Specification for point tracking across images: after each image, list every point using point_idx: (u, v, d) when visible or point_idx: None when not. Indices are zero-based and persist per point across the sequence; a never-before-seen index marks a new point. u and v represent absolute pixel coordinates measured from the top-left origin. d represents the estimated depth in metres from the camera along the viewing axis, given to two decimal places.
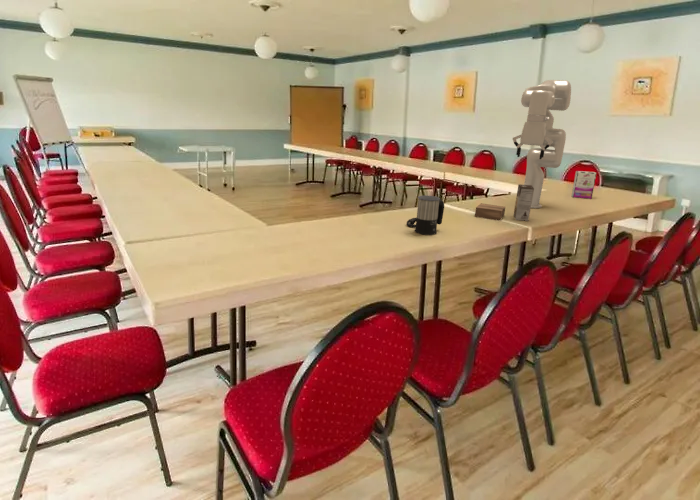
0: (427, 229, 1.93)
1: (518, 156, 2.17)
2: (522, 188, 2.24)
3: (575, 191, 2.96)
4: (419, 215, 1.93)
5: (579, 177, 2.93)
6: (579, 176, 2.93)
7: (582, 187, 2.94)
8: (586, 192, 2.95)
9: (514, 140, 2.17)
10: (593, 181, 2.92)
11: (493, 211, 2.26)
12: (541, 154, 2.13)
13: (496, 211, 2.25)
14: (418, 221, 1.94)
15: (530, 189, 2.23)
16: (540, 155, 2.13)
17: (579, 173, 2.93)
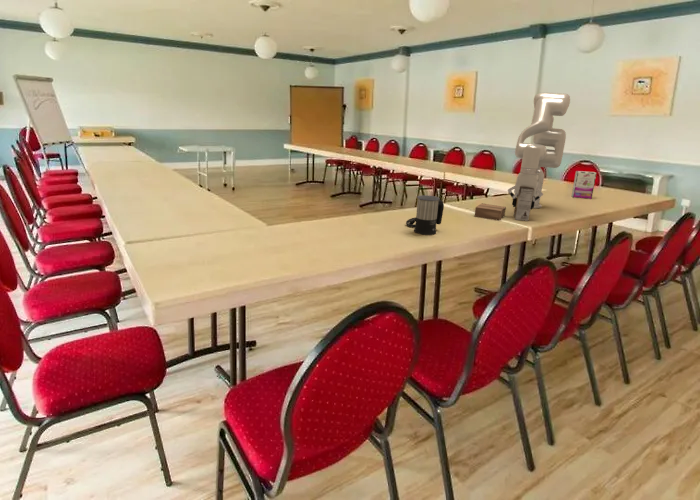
0: (426, 229, 1.93)
1: (514, 206, 2.31)
2: (522, 188, 2.24)
3: (575, 191, 2.96)
4: (418, 215, 1.93)
5: (579, 177, 2.93)
6: (579, 176, 2.93)
7: (582, 187, 2.94)
8: (586, 192, 2.95)
9: (509, 191, 2.31)
10: (593, 181, 2.92)
11: (492, 211, 2.26)
12: (531, 205, 2.27)
13: (495, 211, 2.25)
14: (417, 221, 1.94)
15: (530, 189, 2.23)
16: (531, 206, 2.27)
17: (579, 173, 2.92)
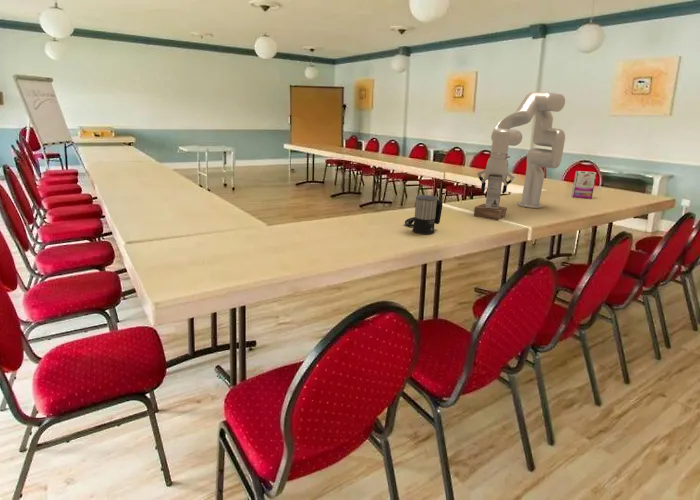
0: (424, 229, 1.93)
1: (483, 190, 2.30)
2: (490, 176, 2.24)
3: (575, 191, 2.96)
4: (417, 214, 1.94)
5: (579, 177, 2.93)
6: (579, 176, 2.93)
7: (582, 187, 2.94)
8: (586, 192, 2.95)
9: (479, 175, 2.30)
10: (593, 181, 2.92)
11: (491, 211, 2.26)
12: (504, 189, 2.25)
13: (494, 211, 2.25)
14: (416, 220, 1.95)
15: (498, 177, 2.23)
16: (503, 190, 2.26)
17: (579, 173, 2.92)
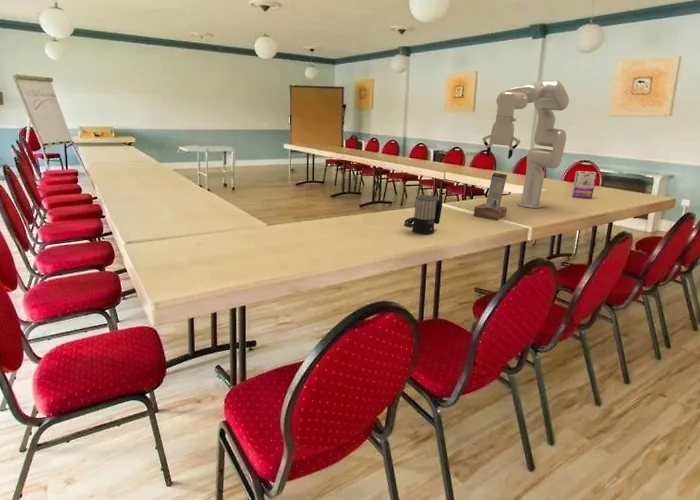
0: (424, 229, 1.93)
1: (488, 156, 2.25)
2: (494, 176, 2.23)
3: (575, 191, 2.96)
4: (416, 214, 1.94)
5: (579, 177, 2.93)
6: (579, 176, 2.93)
7: (582, 187, 2.94)
8: (586, 192, 2.95)
9: (484, 140, 2.25)
10: (593, 181, 2.92)
11: (491, 211, 2.26)
12: (509, 154, 2.20)
13: (494, 211, 2.25)
14: (415, 220, 1.95)
15: (501, 178, 2.22)
16: (508, 155, 2.21)
17: (579, 173, 2.92)
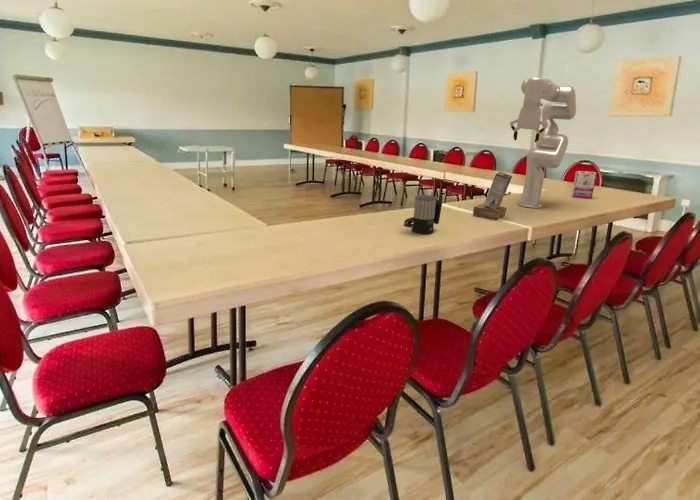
0: (423, 228, 1.93)
1: (515, 139, 2.34)
2: (497, 175, 2.23)
3: (575, 191, 2.96)
4: (416, 214, 1.94)
5: (579, 177, 2.93)
6: (579, 176, 2.93)
7: (582, 187, 2.94)
8: (586, 192, 2.95)
9: (511, 124, 2.33)
10: (593, 181, 2.92)
11: (490, 211, 2.26)
12: (536, 137, 2.29)
13: (493, 211, 2.25)
14: (415, 220, 1.95)
15: (504, 178, 2.21)
16: (535, 138, 2.29)
17: (579, 173, 2.92)
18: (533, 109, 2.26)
